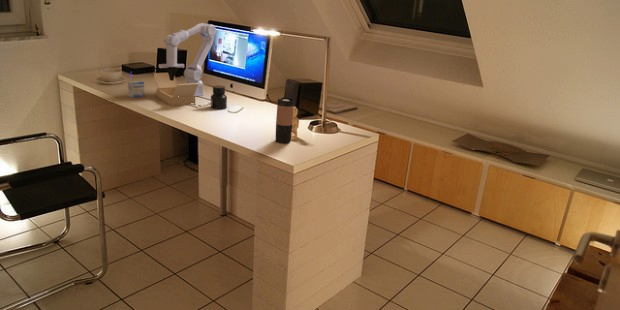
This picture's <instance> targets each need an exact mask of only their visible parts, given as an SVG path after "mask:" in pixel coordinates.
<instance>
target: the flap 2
mask: <svg viewBox="0 0 620 310" xmlns="http://www.w3.org/2000/svg"><path fill="white" fill-rule="evenodd" d="M198 84H199V83H192V84H186V83H177V86H176V87H175V88H176V89H175V91H174V94H173V97H177V96H191V95H194V93H195V91H196V89H197V86H198Z"/></svg>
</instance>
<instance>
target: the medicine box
mask: <svg viewBox="0 0 620 310" xmlns="http://www.w3.org/2000/svg"><path fill="white" fill-rule="evenodd" d="M127 90H128V97H130V98H133V99H134V98H140V97H142V98H143V97H145V81H144V80H143V81H142V80H135V81H134V80H133V81H127Z"/></svg>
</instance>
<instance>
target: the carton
mask: <svg viewBox="0 0 620 310" xmlns="http://www.w3.org/2000/svg"><path fill="white" fill-rule="evenodd" d="M175 89H176V87H175V88H159V89H158V88H156V98H157V99H159V100H161V101H163V102H164V103H165V104H167V105H169V106H171V107H178V106H188V104H191V103H195V104H196V96H195V95H191V96H179V97H178V96H177V97H173V94H174V91H175ZM191 105H192V104H191Z"/></svg>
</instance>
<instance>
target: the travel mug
mask: <svg viewBox="0 0 620 310" xmlns="http://www.w3.org/2000/svg"><path fill="white" fill-rule="evenodd" d="M294 106H295V99H294V98H291V97H281V98H279V97H278V98H277V105H276V116H275V117H276V118H275V119H276V122H275V142H276V143H278V142H279V144H289V142H290V143H291V141H292V133H293V132H292V131H293V124H294V123H293V122H294V108H295V107H294Z"/></svg>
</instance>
